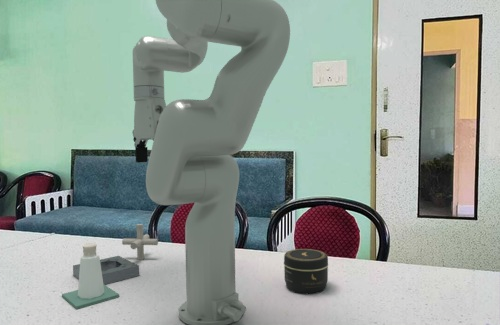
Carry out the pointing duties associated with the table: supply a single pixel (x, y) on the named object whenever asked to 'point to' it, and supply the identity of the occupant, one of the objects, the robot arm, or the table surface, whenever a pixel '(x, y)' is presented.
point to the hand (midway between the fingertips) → (150, 162)
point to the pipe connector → (140, 242)
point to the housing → (114, 269)
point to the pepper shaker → (90, 274)
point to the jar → (306, 270)
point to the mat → (80, 303)
